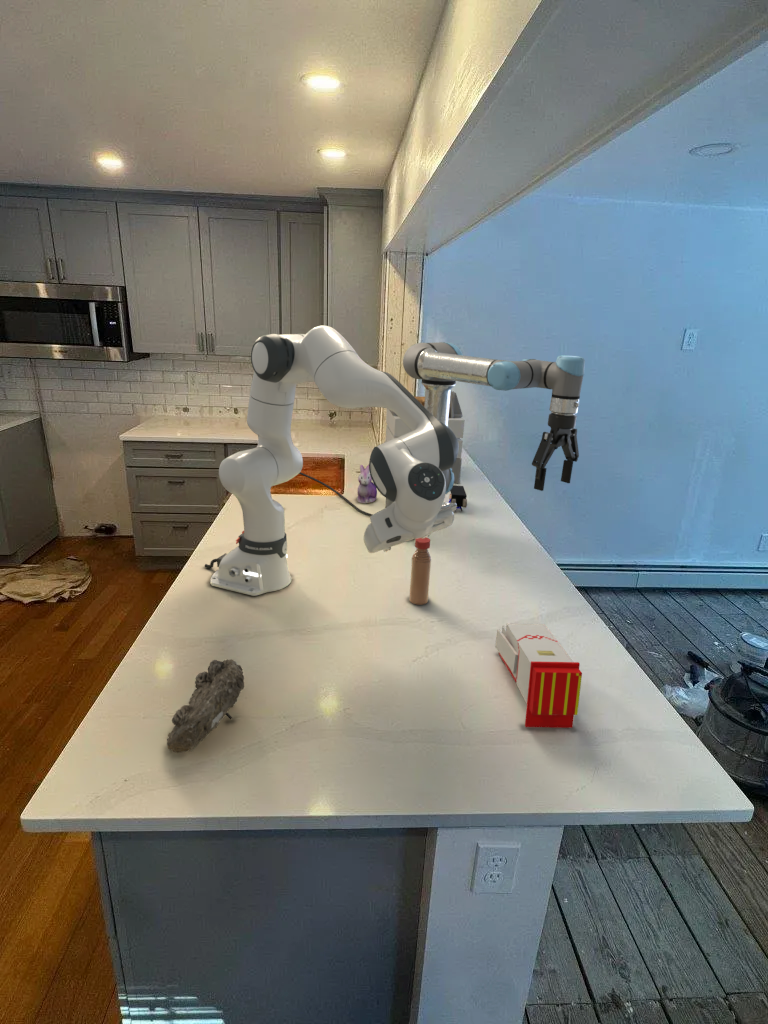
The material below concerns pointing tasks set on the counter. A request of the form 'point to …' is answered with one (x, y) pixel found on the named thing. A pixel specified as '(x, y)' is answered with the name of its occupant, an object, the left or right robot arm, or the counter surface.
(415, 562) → the bottle
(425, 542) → the cap
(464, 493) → the figurine character
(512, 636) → the toy
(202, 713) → the fossil
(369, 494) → the figurine
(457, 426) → the slatted wooden crate
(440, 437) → the left robot arm
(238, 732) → the counter surface
